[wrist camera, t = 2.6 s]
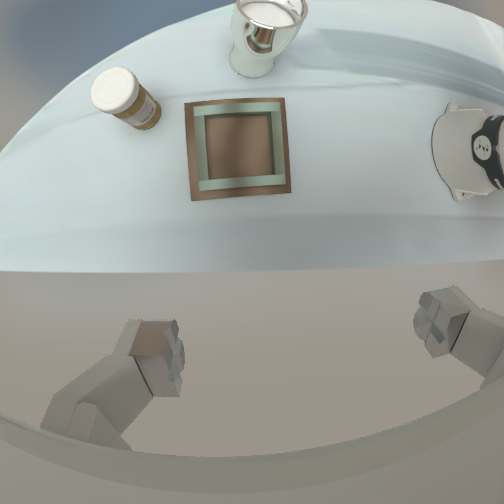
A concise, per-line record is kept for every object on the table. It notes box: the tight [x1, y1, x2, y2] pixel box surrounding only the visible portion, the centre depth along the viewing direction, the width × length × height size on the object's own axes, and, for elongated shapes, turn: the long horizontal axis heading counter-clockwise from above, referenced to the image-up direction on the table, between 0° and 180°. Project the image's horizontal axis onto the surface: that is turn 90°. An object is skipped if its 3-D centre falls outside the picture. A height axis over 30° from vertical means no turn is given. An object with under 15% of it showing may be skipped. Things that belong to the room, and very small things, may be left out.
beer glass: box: [230, 0, 308, 78], centre depth 24 cm, size 7×7×15 cm
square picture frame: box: [184, 98, 291, 201], centre depth 33 cm, size 13×13×4 cm
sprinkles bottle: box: [90, 67, 161, 130], centre depth 25 cm, size 5×5×14 cm
